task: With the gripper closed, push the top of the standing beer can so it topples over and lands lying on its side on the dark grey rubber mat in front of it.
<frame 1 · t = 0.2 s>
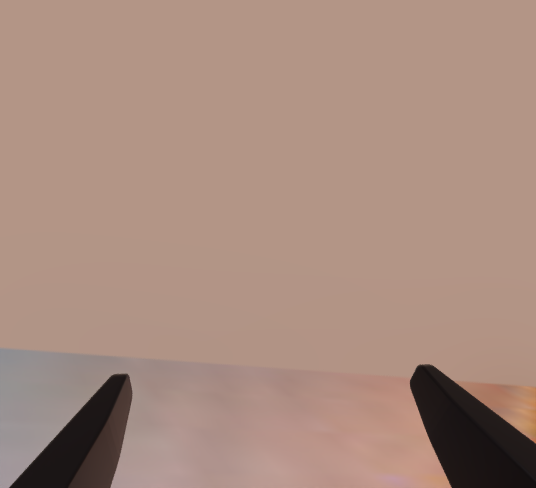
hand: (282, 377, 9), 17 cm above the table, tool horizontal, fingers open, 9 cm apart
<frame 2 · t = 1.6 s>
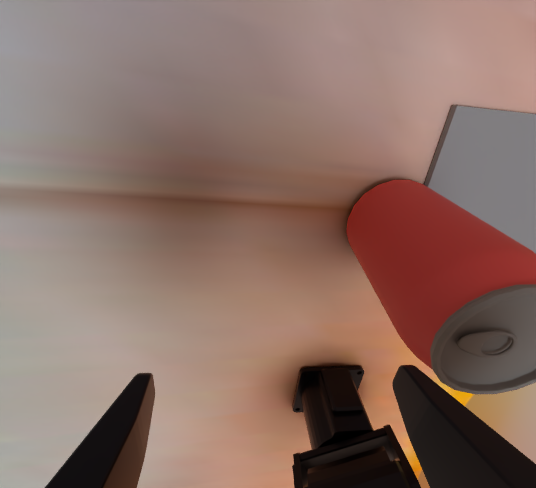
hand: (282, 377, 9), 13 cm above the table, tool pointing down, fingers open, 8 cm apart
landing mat: (492, 225, 23), on the table
beer can: (387, 219, 22), on the table, touching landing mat
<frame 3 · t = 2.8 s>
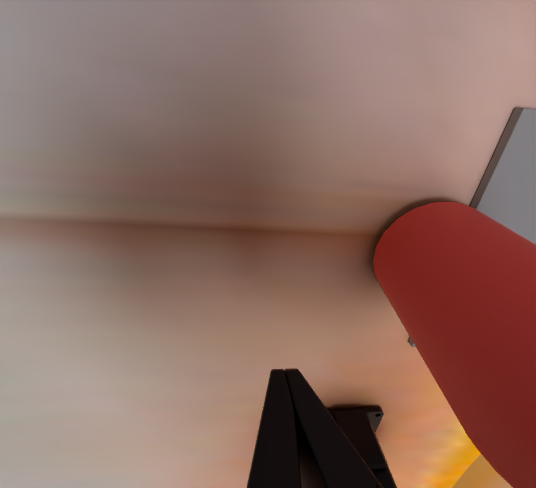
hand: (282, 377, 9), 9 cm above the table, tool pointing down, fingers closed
beer can: (423, 247, 18), on the table, touching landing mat
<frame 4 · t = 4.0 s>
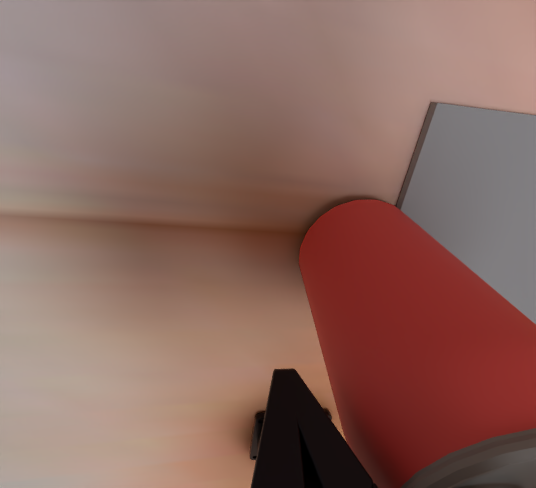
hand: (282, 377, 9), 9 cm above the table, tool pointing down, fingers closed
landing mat: (484, 253, 19), on the table
beer can: (352, 247, 17), on the table, touching gripper, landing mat
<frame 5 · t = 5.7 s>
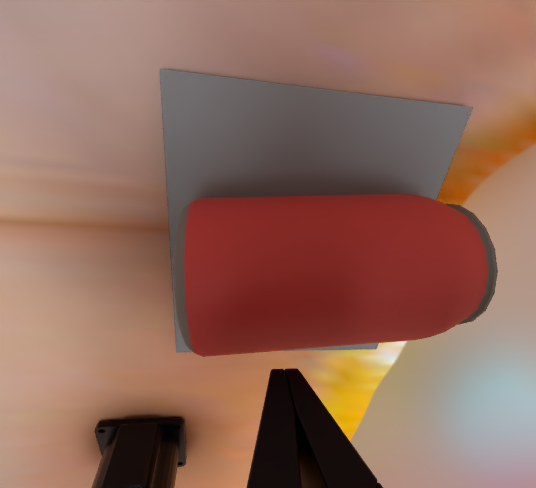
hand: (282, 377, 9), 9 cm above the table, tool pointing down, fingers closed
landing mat: (298, 245, 17), on the table
beer can: (182, 276, 13), point 4 cm above the table, touching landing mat
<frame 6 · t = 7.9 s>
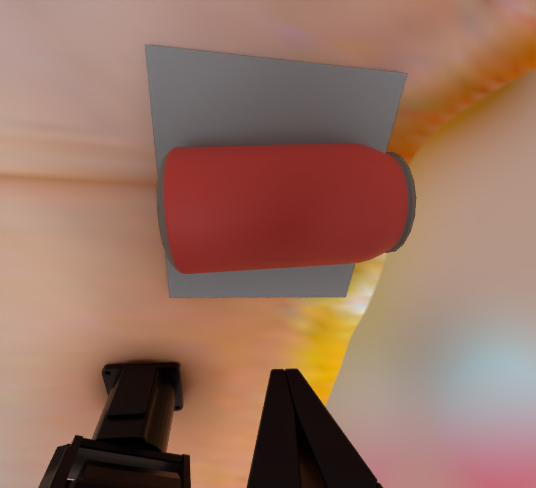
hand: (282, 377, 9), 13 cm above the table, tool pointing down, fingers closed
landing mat: (269, 199, 20), on the table
beer can: (167, 213, 16), point 4 cm above the table, touching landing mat
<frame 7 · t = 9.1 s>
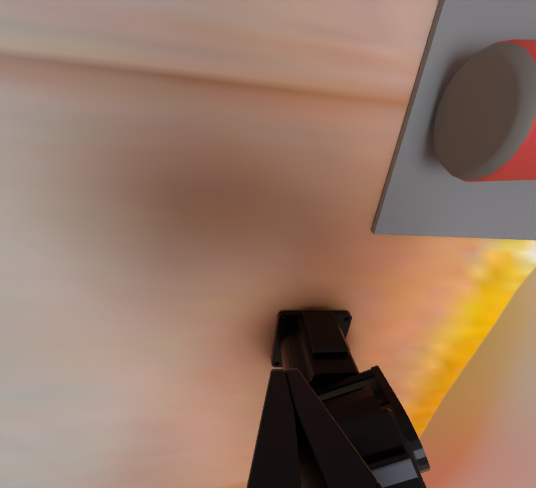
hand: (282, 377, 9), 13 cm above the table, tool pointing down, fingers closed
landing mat: (503, 126, 19), on the table
beer can: (465, 117, 15), point 4 cm above the table, touching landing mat
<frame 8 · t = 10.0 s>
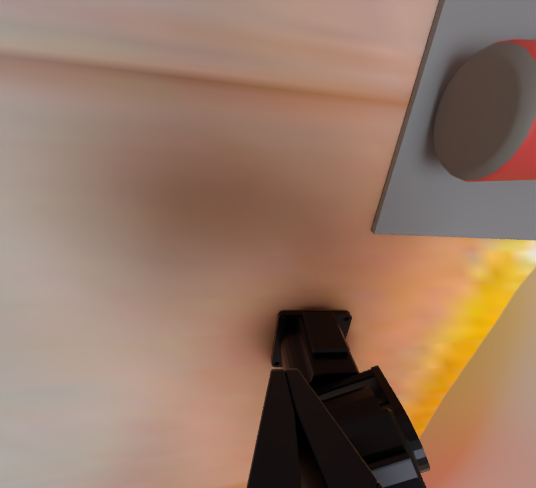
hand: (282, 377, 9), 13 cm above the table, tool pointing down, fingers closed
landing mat: (503, 126, 19), on the table
beer can: (465, 117, 15), point 4 cm above the table, touching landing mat
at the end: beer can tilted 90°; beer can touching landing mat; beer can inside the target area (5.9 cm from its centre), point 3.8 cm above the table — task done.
